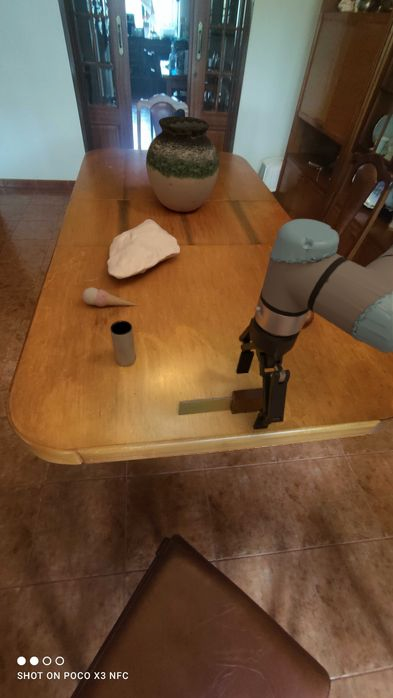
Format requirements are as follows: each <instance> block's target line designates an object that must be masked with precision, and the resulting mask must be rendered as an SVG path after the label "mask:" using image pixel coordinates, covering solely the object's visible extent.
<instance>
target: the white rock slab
mask: <svg viewBox="0 0 393 698" xmlns="http://www.w3.org/2000/svg"><path fill="white" fill-rule="evenodd" d="M180 252H181V248H180V246H179V244H178V239H177V238H175V237H174V236H173V235H172V234H170V233H168V232H167V230H165V229H163V228H162V227H161V226H160V225H159V224H158V223H157V222H156V221H155V220H153V219H151V218H147V219H145V220H144V221H143V222H142V223H140V224H138V225H137V226H135V227H133V228H130V229H128V230H126V231H123V232H122V233H120V234H118V235H116V236H114V238H113V240H112V242H111V243H110V246H109V253H108V256H109V259H108V260H107V266H108V267H107V272H108V275H110V276H113V277H114V278H116V279H117V280H123V279H126V278H129V277H133V276H135V275H138V274H144V273H145V272H146V271H147V270H149V269H152V268H153V267H154V266H156V265H158V264H159V263H160V262H163V261H165V260H167V259H170V258H173V257H175V256H177V255H179V254H180Z"/></svg>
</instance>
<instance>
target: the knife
mask: <svg viewBox="0 0 393 698" xmlns="http://www.w3.org/2000/svg"><path fill="white" fill-rule="evenodd" d="M260 408H263V388H262V387H255V388H245V389H233V390H232V392H231V396H222V397H211V398H201V399H191V400H180V401H178V416H183V415H184V416H185V415H194V414H205V413H213V412H224V411H230V412H231V415H237V414H247V413H255V412H259V410H260Z"/></svg>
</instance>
